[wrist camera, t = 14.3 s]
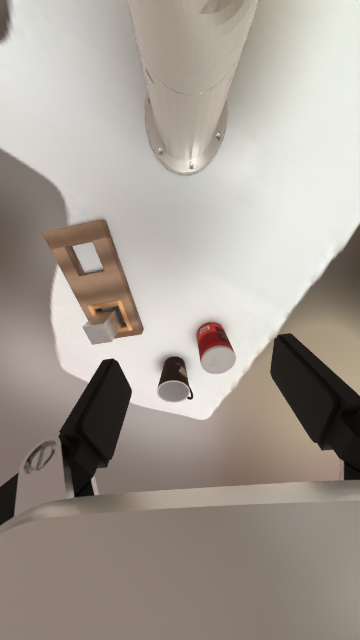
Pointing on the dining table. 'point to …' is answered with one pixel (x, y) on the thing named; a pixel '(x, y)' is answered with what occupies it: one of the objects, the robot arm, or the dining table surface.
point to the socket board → (95, 273)
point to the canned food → (215, 349)
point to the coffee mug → (174, 381)
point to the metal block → (104, 325)
